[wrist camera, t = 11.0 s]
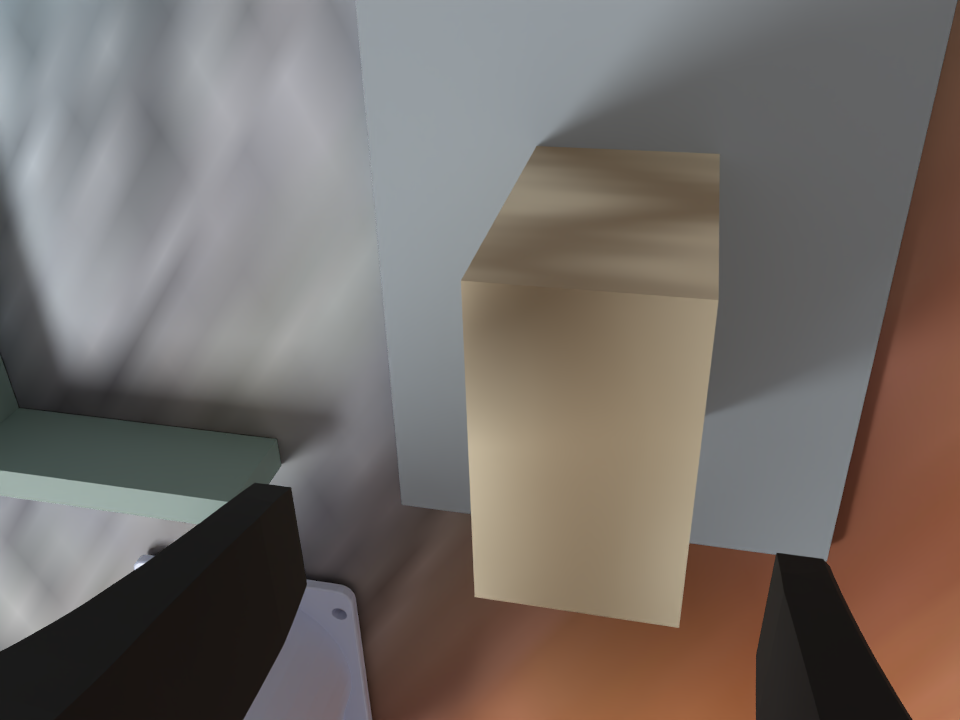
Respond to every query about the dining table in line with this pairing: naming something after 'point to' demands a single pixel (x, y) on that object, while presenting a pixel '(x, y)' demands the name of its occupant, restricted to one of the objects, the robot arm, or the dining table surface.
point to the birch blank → (591, 379)
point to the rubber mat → (742, 209)
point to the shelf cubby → (125, 463)
